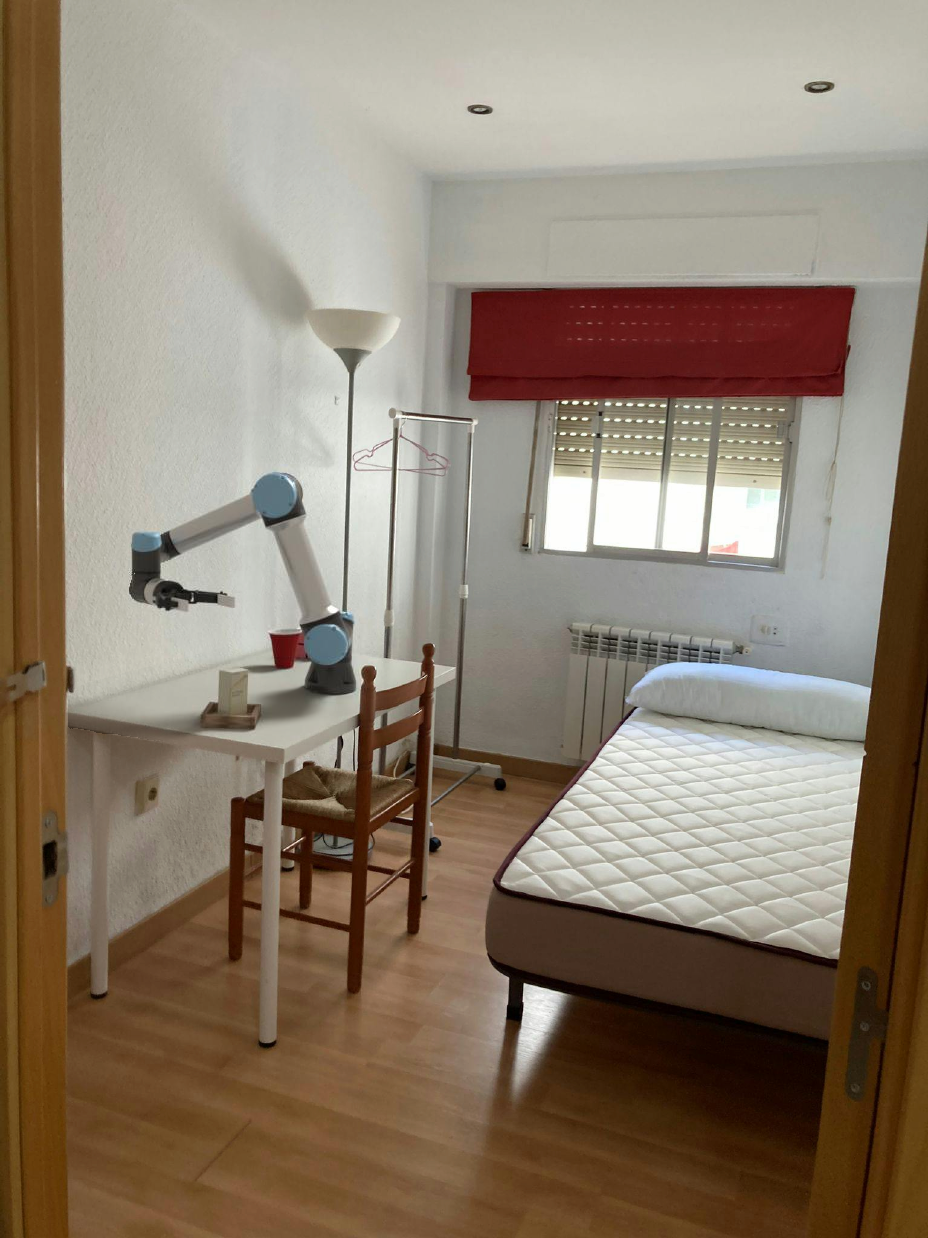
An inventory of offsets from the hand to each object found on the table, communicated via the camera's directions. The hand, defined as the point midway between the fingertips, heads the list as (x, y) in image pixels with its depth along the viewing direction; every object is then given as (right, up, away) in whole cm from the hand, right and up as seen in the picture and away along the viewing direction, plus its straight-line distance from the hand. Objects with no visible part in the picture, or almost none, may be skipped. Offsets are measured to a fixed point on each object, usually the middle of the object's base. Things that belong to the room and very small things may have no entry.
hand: (210, 604), depth 239 cm
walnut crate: (+6, -29, -2) cm, 30 cm away
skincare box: (+6, -28, -2) cm, 29 cm away
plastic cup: (+6, -19, +65) cm, 68 cm away
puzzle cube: (+12, -17, +83) cm, 86 cm away
